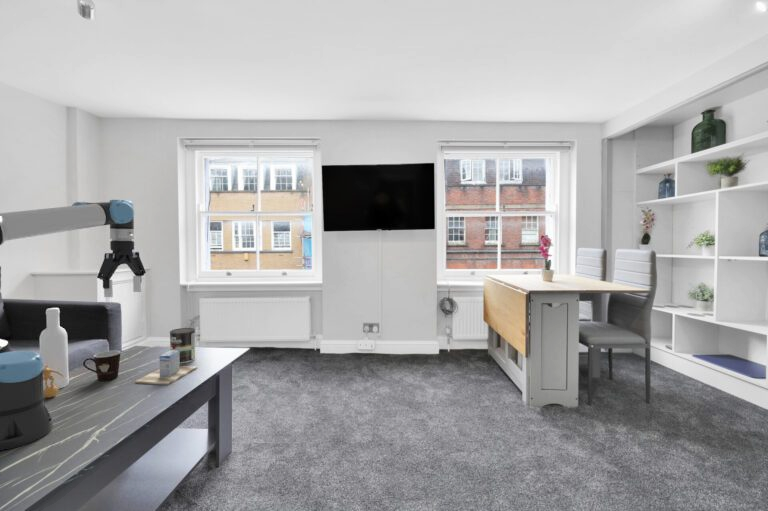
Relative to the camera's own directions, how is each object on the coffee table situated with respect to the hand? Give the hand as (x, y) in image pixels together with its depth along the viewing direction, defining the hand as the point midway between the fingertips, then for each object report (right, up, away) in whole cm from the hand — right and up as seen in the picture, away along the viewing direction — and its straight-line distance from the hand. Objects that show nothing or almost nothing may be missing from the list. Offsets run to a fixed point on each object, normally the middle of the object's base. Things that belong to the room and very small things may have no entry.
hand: (123, 294), depth 141 cm
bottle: (-23, -35, -4) cm, 42 cm away
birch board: (+12, -35, +8) cm, 38 cm away
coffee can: (+8, -34, +27) cm, 44 cm away
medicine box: (+13, -34, +8) cm, 37 cm away
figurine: (-16, -35, -14) cm, 41 cm away
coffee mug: (-11, -35, +5) cm, 37 cm away
